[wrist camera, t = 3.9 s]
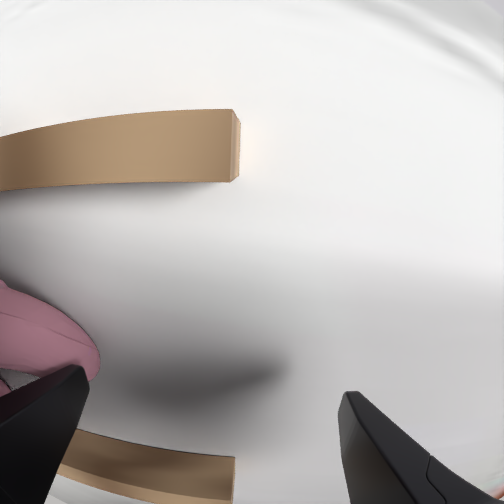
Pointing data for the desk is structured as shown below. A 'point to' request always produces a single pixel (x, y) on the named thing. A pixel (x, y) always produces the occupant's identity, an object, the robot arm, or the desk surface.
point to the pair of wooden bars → (125, 171)
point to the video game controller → (40, 338)
